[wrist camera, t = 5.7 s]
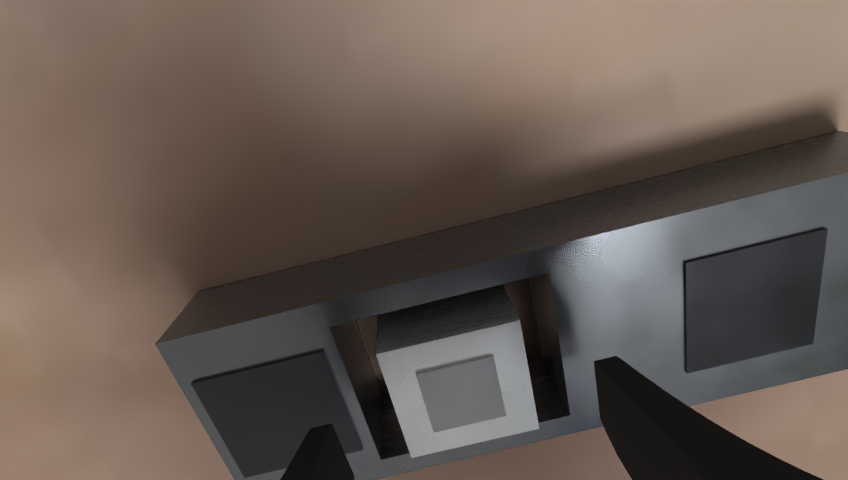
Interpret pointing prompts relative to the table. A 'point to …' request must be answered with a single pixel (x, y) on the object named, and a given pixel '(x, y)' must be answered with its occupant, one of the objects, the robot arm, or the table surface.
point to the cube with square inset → (457, 371)
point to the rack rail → (543, 308)
